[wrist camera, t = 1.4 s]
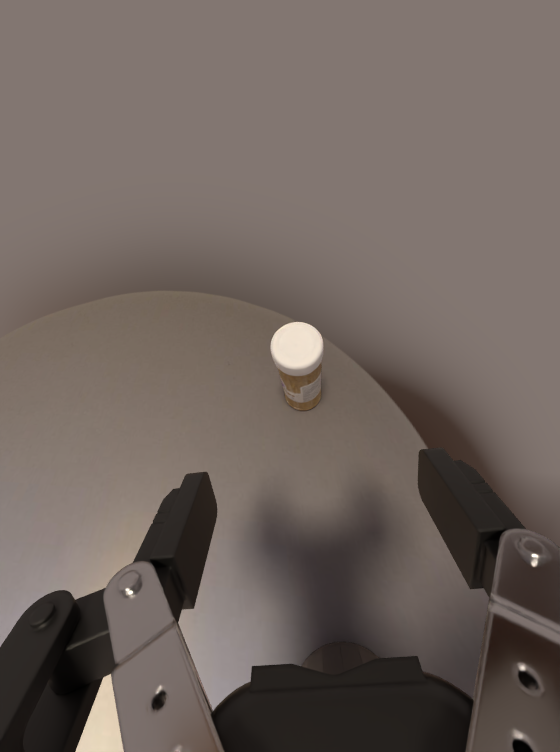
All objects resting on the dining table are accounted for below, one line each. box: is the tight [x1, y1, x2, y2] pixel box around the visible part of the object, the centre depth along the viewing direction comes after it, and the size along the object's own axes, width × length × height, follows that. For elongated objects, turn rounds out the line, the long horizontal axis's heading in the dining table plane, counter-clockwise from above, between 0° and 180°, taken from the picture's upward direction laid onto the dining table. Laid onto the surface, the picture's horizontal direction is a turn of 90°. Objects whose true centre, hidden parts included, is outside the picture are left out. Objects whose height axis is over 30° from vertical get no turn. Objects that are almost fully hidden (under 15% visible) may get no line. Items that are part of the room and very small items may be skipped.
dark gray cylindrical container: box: [301, 642, 379, 675], centre depth 23 cm, size 10×10×9 cm
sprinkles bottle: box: [271, 322, 323, 410], centre depth 32 cm, size 5×5×14 cm
